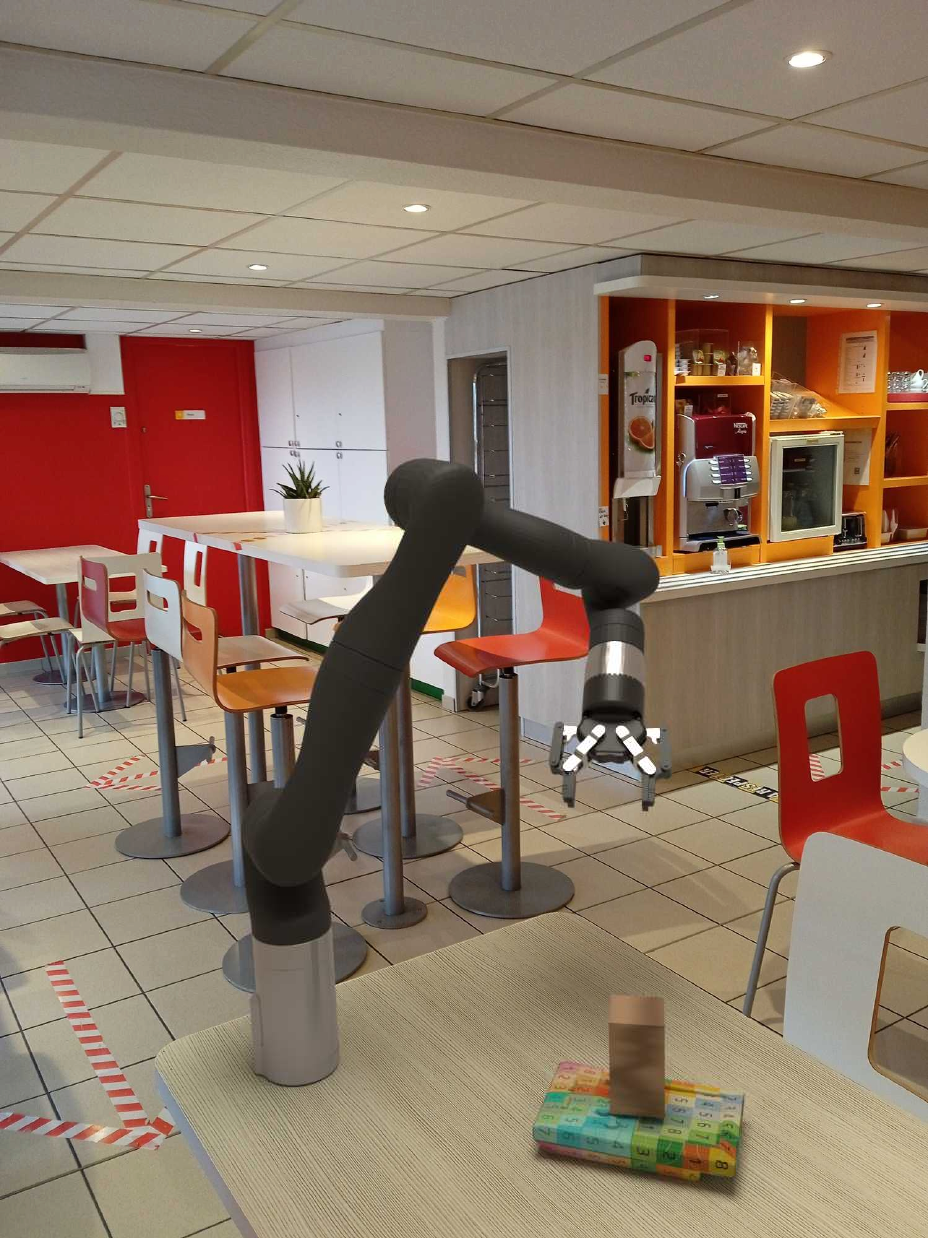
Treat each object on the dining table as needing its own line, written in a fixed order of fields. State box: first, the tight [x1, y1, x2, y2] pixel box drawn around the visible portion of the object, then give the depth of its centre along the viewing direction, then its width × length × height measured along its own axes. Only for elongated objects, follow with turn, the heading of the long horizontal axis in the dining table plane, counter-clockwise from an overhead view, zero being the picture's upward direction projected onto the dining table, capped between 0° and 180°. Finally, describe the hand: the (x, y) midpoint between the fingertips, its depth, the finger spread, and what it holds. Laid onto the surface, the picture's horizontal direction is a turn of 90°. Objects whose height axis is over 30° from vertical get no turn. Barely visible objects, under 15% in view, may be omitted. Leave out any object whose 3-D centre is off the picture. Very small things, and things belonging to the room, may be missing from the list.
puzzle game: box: [532, 1060, 746, 1182], centre depth 107 cm, size 12×5×20 cm
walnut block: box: [608, 994, 666, 1118], centre depth 106 cm, size 6×6×10 cm
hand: (607, 806), depth 118 cm, fingers open, 8 cm apart
